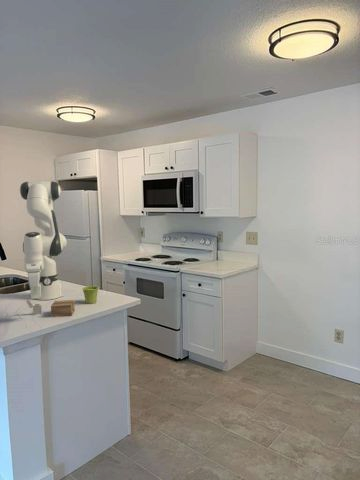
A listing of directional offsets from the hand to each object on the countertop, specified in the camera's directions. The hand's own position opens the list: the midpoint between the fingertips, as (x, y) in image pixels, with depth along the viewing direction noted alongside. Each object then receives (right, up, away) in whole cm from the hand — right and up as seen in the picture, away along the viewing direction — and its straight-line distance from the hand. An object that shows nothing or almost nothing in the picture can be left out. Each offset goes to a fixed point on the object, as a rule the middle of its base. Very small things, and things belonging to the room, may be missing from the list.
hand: (35, 292), depth 179 cm
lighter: (-4, -13, +9) cm, 16 cm away
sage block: (0, -2, 0) cm, 2 cm away
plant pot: (+20, -10, +30) cm, 37 cm away
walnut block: (+11, -13, +9) cm, 19 cm away
